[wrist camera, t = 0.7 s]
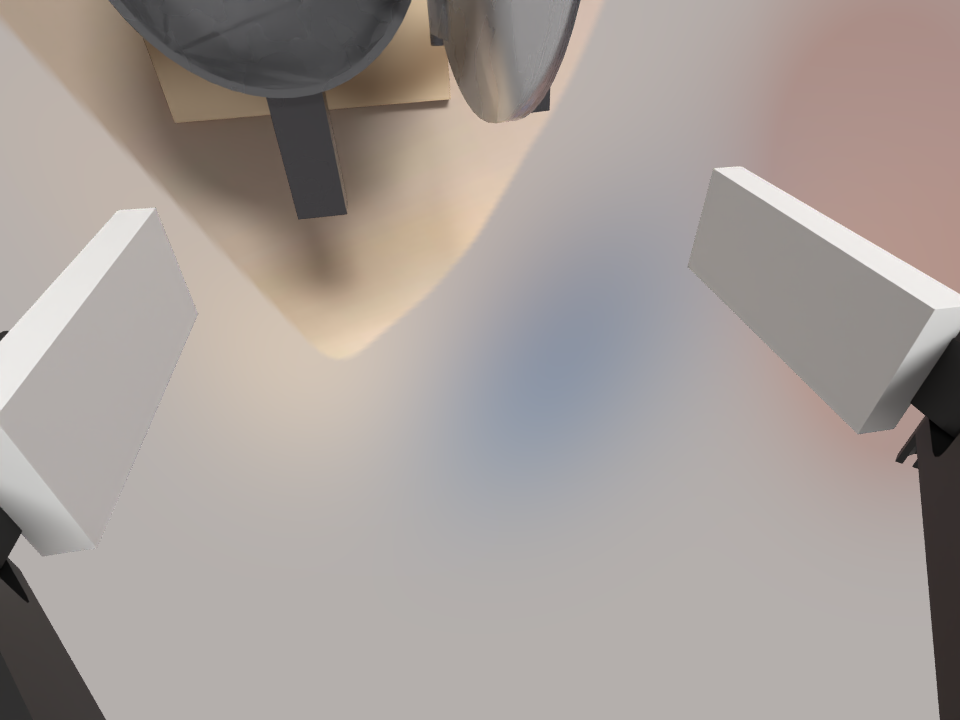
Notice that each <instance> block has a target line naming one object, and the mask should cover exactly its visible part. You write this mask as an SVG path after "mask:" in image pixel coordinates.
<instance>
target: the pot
mask: <svg viewBox="0 0 960 720" xmlns="http://www.w3.org/2000/svg"><path fill="white" fill-rule="evenodd" d="M109 1H110V2H111V4H112V5H113V6H114V7H115V8H116V9H117V11H118V12H119V13H120V14H121V15H122V17H123V18H124V19H125V20H126V21H127V22H128V23H129V24H130V25H131V26H132V27H133V28H134V29H135V30H136V31H137V32H138V33H139V34H140V35H141V36H142V37H143V38H144V39H145V40H147V41H148V42H149V43H150V44H152V45H153V46H154V47H155V48H156V49H158V50H159V51H160V52H161V53H163V54H164V55H165V56H166V57H168V58H169V59H171V60H172V61H174V62H175V63H177V64H179V65H180V66H182V67H183V68H185V69H186V70H188V71H189V72H191V73H193V74H195V75H197V76H199V77H201V78H203V79H205V80H207V81H209V82H211V83H214V84H216V85H219V86H222V87H224V88H227V89H229V90H232V91H236V92H240V93H244V94H248V95H252V96H260V97H266V99H267V103H268V107H269V110H270V114H271V118H272V122H273V125H274V129H275V133H276V137H277V140H278V144H279V148H280V152H281V155H282V159H283V163H284V167H285V171H286V174H287V178H288V182H289V186H290V189H291V193H292V197H293V201H294V204H295V208H296V212H297V216H298V219H307V218H316V217H326V216H335V215H344V214H347V206H348V202H347V197H346V192H345V187H344V182H343V177H342V172H341V167H340V162H339V158H338V153H337V148H336V143H335V138H334V133H333V128H332V123H331V118H330V113H329V108H328V103H327V98H326V93H325V91H327V90H330V89H332V88H334V87H336V86H338V85H341V84H343V83H345V82H347V81H349V80H350V79H352V78H353V77H354V76H356V75H357V74H359V73H360V72H362V71H363V70H364V69H366V68H367V67H368V66H369V65H370V64H371V63H372V62H373V61H374V60H375V59H376V58H377V57H378V56H379V55H380V54H381V53H382V51H383V50H384V49H385V48H386V46H387V45H388V44H389V43H390V42H391V40H392V39H393V37H394V35H395V34H396V32H397V30H398V29H399V27H400V25H401V24H402V22H403V20H404V17H405V15H406V13H407V10H408V8H409V6H410V4H411V1H412V0H109Z"/></svg>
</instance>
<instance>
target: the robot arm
mask: <svg viewBox="0 0 960 720" xmlns="http://www.w3.org/2000/svg"><path fill="white" fill-rule="evenodd" d="M688 268H690V269H691V271H692V272H694V273H695V274H696V275H697V276H698V277H699V278H700V279H701V280H702V281H703V282H704V283H705V284H706V285H707V286H708V287H709V288H710V289H711V290H712V291H713V292H714V293H715V294H716V295H717V296H718V297H719V298H720V299H721V300H722V301H723V302H724V303H725V304H726V305H727V306H728V307H729V308H730V309H731V310H732V311H733V312H734V313H735V314H736V315H737V316H738V317H739V318H740V319H741V320H742V321H743V322H744V323H745V324H746V325H747V326H749V328H750V329H751V330H752V331H753V332H754V333H756V334H757V335H758V336H759V337H760V338H761V339H762V340H763V341H764V342H765V343H766V344H767V345H768V346H769V347H770V348H771V349H772V350H773V351H774V352H775V353H776V354H777V355H778V356H779V357H780V358H781V359H782V360H783V361H784V362H785V363H786V364H787V365H788V366H789V367H790V368H791V369H792V370H793V371H794V372H795V373H796V374H797V375H798V376H799V377H800V378H801V379H802V380H803V381H804V382H805V383H806V384H807V385H808V386H809V387H810V388H812V389H813V391H815V393H816V394H817V395H818V396H820V398H821V399H823V400H824V401H825V402H826V403H827V404H828V405H829V406H830V407H831V408H832V409H833V410H834V411H835V412H836V413H837V414H838V415H839V416H840V417H841V418H842V419H843V420H844V421H845V422H846V423H847V424H848V425H849V426H850V427H851V428H852V429H853V430H854V431H855V432H856V433H857V434H863V433H870V432H877V431H883V430H890V429H894V428H895V427H896V425H897V424H898V422H899V421H900V419H901V418H902V416H903V415H904V413H905V412H906V410H907V409H908V407H909V406H910V404H912V405H913V406H915V407H916V408H917V409H918V410H920V411H921V412H922V413H923V414H924V415H925V417H924V418H923V420H922V421H921V422H920V424H919V425H918V427H917V428H916V429H915V431H914V432H913V434H912V435H911V436H910V438H909V439H908V441H907V442H906V444H905V445H904V446H903V448H902V449H901V451H900V452H899V453H898V455H897V458H896V462H899V463H903V462H904V461H905V459H906V458H907V456H909V455H912V454H917V458H918V459H917V460H916V462H915V463H914V465H913V467H914V468H918V469H919V482H920V493H921V504H922V516H923V528H924V539H925V550H926V563H927V574H928V586H929V598H930V610H931V621H932V632H933V644H934V656H935V667H936V679H937V691H938V703H939V714H940V720H960V294H959V293H957V292H955V291H953V290H951V289H950V288H948V287H947V286H945V285H943V284H941V283H940V282H938V281H936V280H935V279H933V278H931V277H929V276H928V275H926V274H924V273H923V272H921V271H919V270H917V269H916V268H914V267H912V266H911V265H909V264H907V263H906V262H904V261H902V260H900V259H899V258H897V257H895V256H894V255H892V254H890V253H888V252H887V251H885V250H883V249H882V248H880V247H878V246H876V245H875V244H873V243H871V242H870V241H868V240H866V239H864V238H863V237H861V236H859V235H858V234H856V233H854V232H852V231H851V230H849V229H847V228H846V227H844V226H842V225H841V224H839V223H837V222H835V221H834V220H832V219H830V218H828V217H827V216H825V215H823V214H822V213H820V212H818V211H816V210H815V209H813V208H812V207H810V206H808V205H806V204H805V203H803V202H801V201H800V200H798V199H796V198H794V197H793V196H791V195H789V194H788V193H786V192H784V191H782V190H781V189H779V188H777V187H775V186H774V185H772V184H770V183H769V182H767V181H765V180H764V179H762V178H760V177H759V176H757V175H755V174H753V173H752V172H750V171H748V170H746V169H745V168H743V167H727V168H714V169H713V172H712V176H711V179H710V183H709V187H708V191H707V195H706V198H705V202H704V206H703V210H702V214H701V217H700V221H699V225H698V229H697V232H696V236H695V240H694V244H693V248H692V252H691V256H690V259H689V263H688ZM197 315H198V313H197V310H196V308H195V305H194V303H193V300H192V298H191V295H190V293H189V290H188V287H187V285H186V282H185V280H184V277H183V275H182V272H181V270H180V267H179V265H178V262H177V260H176V257H175V255H174V252H173V250H172V247H171V245H170V242H169V240H168V237H167V235H166V232H165V229H164V227H163V224H162V222H161V219H160V217H159V214H158V212H157V209H156V208H142V209H128V210H118V211H117V212H116V213H115V214H114V215H113V216H112V217H111V219H110V220H109V221H108V222H107V223H106V224H105V225H104V226H103V228H102V229H101V230H100V231H99V232H98V233H97V234H96V235H95V237H93V239H92V240H91V241H90V242H89V243H88V244H87V246H85V247H84V249H83V250H82V251H81V252H80V253H79V254H78V255H77V256H76V257H75V259H74V260H73V261H72V262H71V263H70V264H69V265H68V266H67V268H66V269H65V270H64V271H63V272H62V273H61V274H60V275H59V277H58V278H57V279H56V280H55V281H54V282H53V283H52V284H51V285H50V286H49V288H48V289H47V290H46V291H45V292H44V293H43V294H42V295H41V297H40V298H39V299H38V300H37V301H36V302H35V303H34V304H33V306H32V307H31V308H30V309H29V310H28V311H27V312H26V313H25V314H24V315H23V317H22V318H21V319H20V320H19V321H18V322H17V323H16V325H15V326H14V327H13V328H12V329H11V330H10V331H3V332H1V333H0V720H106V719H105V718H104V716H103V714H102V712H101V710H100V709H99V707H98V705H97V703H96V702H95V700H94V698H93V696H92V695H91V693H90V691H89V689H88V688H87V686H86V684H85V682H84V681H83V679H82V677H81V675H80V674H79V672H78V670H77V669H76V667H75V665H74V663H73V661H72V660H71V658H70V656H69V654H68V653H67V651H66V649H65V648H64V646H63V644H62V642H61V640H60V639H59V637H58V635H57V633H56V632H55V630H54V629H53V626H52V625H51V623H50V621H49V619H48V618H47V616H46V614H45V613H44V611H43V609H42V607H41V606H40V604H39V602H38V600H37V599H36V597H35V595H34V593H33V592H32V590H31V588H30V586H29V585H28V583H27V581H26V579H25V578H24V576H23V574H22V572H21V571H20V569H19V568H18V567H17V566H16V565H15V564H14V563H13V562H12V561H11V560H10V559H9V558H8V556H9V554H10V552H11V550H12V549H13V547H14V545H15V543H16V541H17V539H18V538H19V536H20V534H22V535H23V536H24V537H25V538H26V539H27V540H28V541H29V542H30V544H31V545H32V546H33V547H34V548H35V549H36V550H37V551H38V552H39V553H40V554H41V556H48V555H54V554H61V553H68V552H74V551H81V550H88V549H95V548H97V547H98V544H99V542H100V540H101V538H102V535H103V533H104V531H105V528H106V526H107V524H108V521H109V519H110V517H111V515H112V512H113V510H114V507H115V505H116V503H117V501H118V498H119V496H120V493H121V491H122V489H123V487H124V484H125V482H126V480H127V477H128V475H129V473H130V470H131V468H132V466H133V463H134V461H135V459H136V456H137V454H138V452H139V450H140V447H141V445H142V443H143V440H144V438H145V436H146V433H147V431H148V429H149V426H150V424H151V422H152V419H153V417H154V415H155V412H156V410H157V408H158V405H159V403H160V401H161V398H162V396H163V394H164V391H165V389H166V387H167V385H168V382H169V380H170V378H171V375H172V373H173V371H174V368H175V366H176V364H177V361H178V359H179V357H180V354H181V352H182V350H183V347H184V345H185V343H186V340H187V338H188V336H189V334H190V331H191V329H192V327H193V324H194V322H195V320H196V317H197Z"/></svg>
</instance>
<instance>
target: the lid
mask: <svg viewBox="0 0 960 720" xmlns="http://www.w3.org/2000/svg"><path fill="white" fill-rule="evenodd" d="M579 4H580V0H427V6H428V18H429V29H430V41H431V46H443V45H444V47H445V50H446V53H447V57H448V60H449V63H450V66H451V69H452V72H453V74H454V77H455V79H456V82H457V84H458V86H459V89H460V91H461V93H462V95H463V97H464V98H465V100H466V102H467V104H468V105H469V106H470V108H471V109H472V111H473V112H474V113H475V114H476V115H477V116H478V117H479V118H480V119H482V120H484V121H486V122H488V123H501V122H509V121H516V120H519V119H522V118H525V117H526V116H527V115H529V114H530V113H533V112H541V111H548V110H549V106H550V87H551V85H552V83H553V81H554V79H555V77H556V74H557V72H558V70H559V67H560V65H561V63H562V60H563V58H564V55H565V52H566V49H567V46H568V43H569V40H570V37H571V34H572V31H573V27H574V23H575V20H576V16H577V12H578V8H579Z"/></svg>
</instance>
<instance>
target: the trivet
mask: <svg viewBox="0 0 960 720" xmlns="http://www.w3.org/2000/svg"><path fill="white" fill-rule="evenodd" d="M143 39H144V38H143ZM144 42H145V44H146V47H147V50H148V52H149V55H150V58H151V60H152V63H153V66H154V68H155V71H156V74H157V77H158V79H159V82H160V85H161V87H162V90H163V93H164V95H165V98H166V101H167V103H168V106H169V109H170V111H171V114H172V117H173V119H174V122H175V123H182V122H194V121H205V120H217V119H228V118H240V117H251V116H263V115H271V114H270V110H269V107H268V103H267V99H266V97H260V96H252V95H248V94H244V93H240V92H236V91H232V90H229V89H227V88H224V87H222V86H219V85H216V84H214V83H211V82H209V81H207V80H205V79H203V78H201V77H199V76H197V75H195V74H193V73H191V72H189V71H188V70H186V69H185V68H183V67H182V66H180V65H179V64H177V63H175V62H174V61H172V60H171V59H169V58H168V57H166V56H165V55H164V54H163V53H161V52H160V51H159V50H158V49H156V48H155V47H154V46H153V45H152V44H150V43H149V42H148V41H147V40H145V39H144ZM325 93H326V98H327V103H328V108H329V110H332V109H343V108H354V107H366V106H377V105H389V104H400V103H412V102H423V101H435V100H446V99H451V98H450V83H449V69H448V57H447V53H446V50H445V47H444V45H443V46H431V41H430V29H429V18H428V6H427V0H412V1H411V4H410V6H409V8H408V10H407V13H406V15H405V17H404V20H403V22H402V24H401V25H400V27H399V29H398V30H397V32H396V34H395V35H394V37H393V39H392V40H391V42H390V43H389V44H388V45H387V46H386V48H385V49H384V50H383V51H382V53H381V54H380V55H379V56H378V57H377V58H376V59H375V60H374V61H373V62H372V63H371V64H370V65H369V66H368V67H367V68H366V69H364V70H363V71H362V72H360V73H359V74H357V75H356V76H354V77H353V78H352V79H350V80H349V81H347V82H345V83H343V84H341V85H338V86H336V87H334V88H332V89H330V90H327V91H325Z"/></svg>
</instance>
